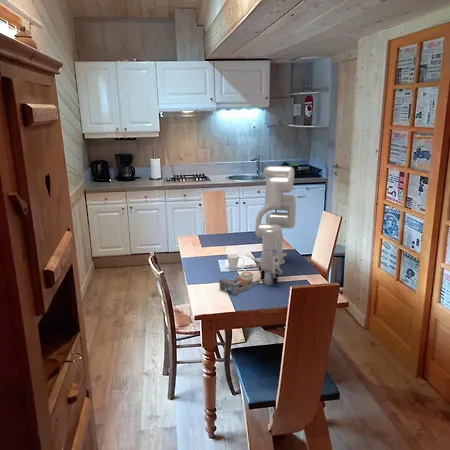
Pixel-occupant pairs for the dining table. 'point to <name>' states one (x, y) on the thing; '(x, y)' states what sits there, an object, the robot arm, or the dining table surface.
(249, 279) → the jar resting
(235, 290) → the lane
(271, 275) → the jar
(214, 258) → the dining table surface
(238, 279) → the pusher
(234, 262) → the cup
